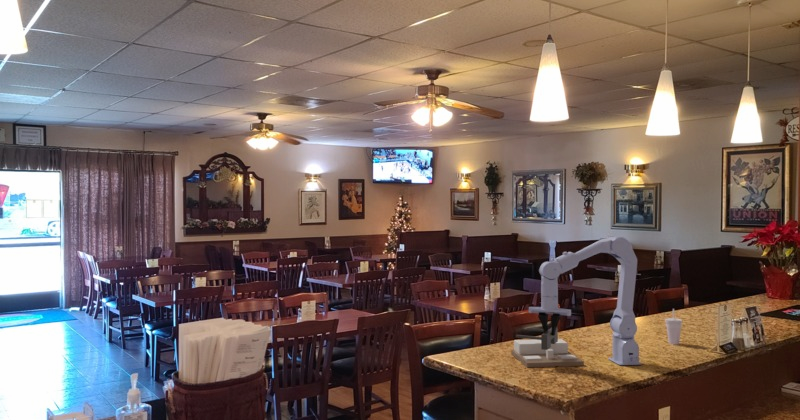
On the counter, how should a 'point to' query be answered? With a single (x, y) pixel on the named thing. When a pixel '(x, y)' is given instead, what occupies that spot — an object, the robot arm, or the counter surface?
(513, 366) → the counter surface
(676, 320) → the smoothie
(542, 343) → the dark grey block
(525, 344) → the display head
